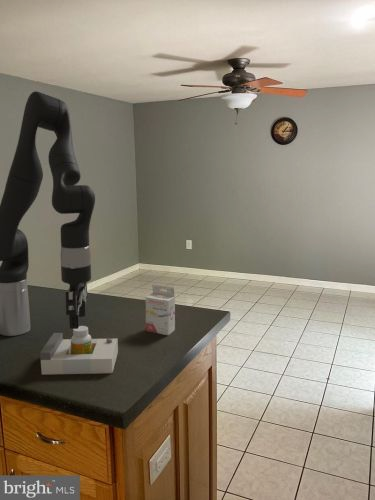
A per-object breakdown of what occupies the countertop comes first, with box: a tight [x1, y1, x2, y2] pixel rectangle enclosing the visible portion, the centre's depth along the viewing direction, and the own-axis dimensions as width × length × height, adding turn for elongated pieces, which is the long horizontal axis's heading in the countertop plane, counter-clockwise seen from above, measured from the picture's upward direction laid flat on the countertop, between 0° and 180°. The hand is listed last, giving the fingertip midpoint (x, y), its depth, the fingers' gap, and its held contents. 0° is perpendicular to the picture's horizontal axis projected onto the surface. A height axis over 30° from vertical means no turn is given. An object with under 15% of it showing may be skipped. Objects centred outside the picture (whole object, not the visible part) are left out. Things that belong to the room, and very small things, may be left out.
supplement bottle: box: [70, 325, 92, 354], centre depth 114 cm, size 5×5×10 cm
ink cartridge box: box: [145, 284, 176, 336], centre depth 136 cm, size 9×5×15 cm, turn 65°
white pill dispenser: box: [39, 332, 119, 375], centre depth 114 cm, size 18×13×6 cm
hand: (78, 322), depth 112 cm, fingers open, 8 cm apart
